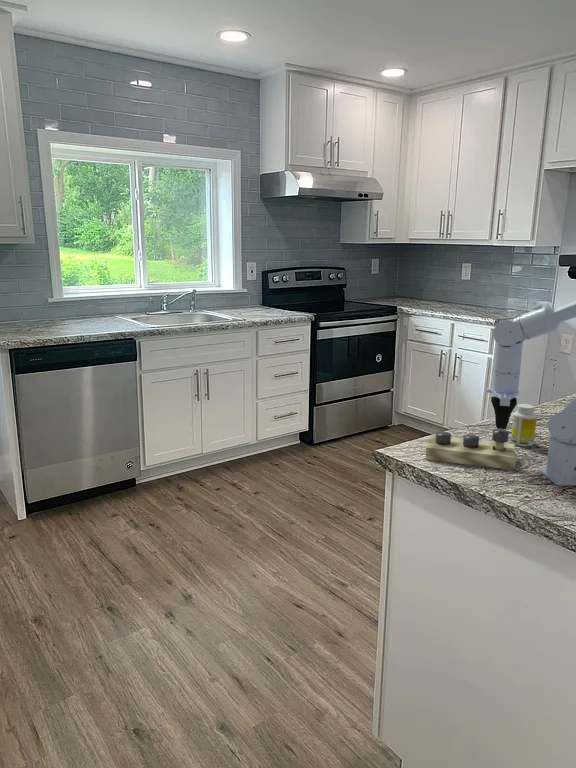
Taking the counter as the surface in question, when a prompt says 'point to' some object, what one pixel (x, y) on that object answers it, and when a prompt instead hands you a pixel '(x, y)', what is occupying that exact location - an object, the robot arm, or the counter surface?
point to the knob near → (500, 438)
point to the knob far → (443, 438)
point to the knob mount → (472, 453)
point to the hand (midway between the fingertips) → (501, 428)
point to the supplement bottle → (524, 425)
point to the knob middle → (471, 441)
